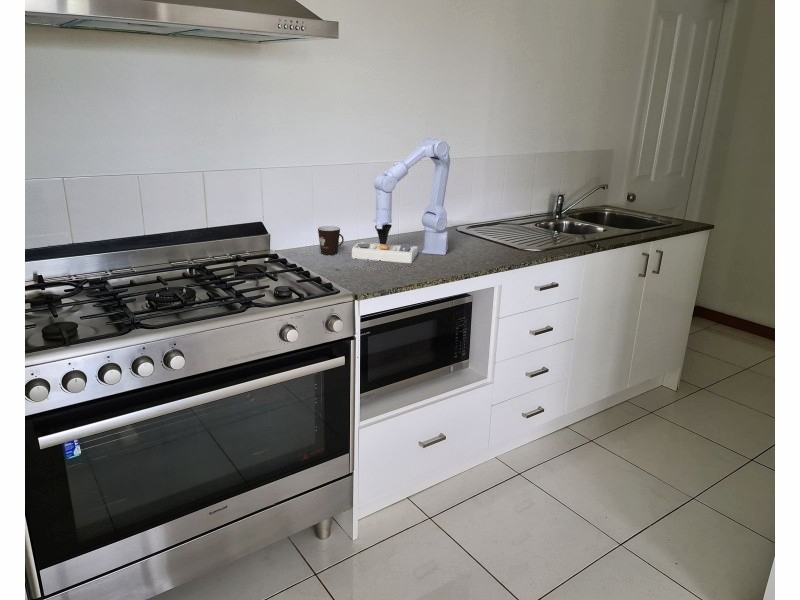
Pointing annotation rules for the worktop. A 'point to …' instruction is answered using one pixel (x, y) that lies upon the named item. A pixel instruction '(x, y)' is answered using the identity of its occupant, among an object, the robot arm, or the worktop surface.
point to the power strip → (384, 253)
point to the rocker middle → (384, 247)
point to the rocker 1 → (363, 245)
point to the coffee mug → (329, 239)
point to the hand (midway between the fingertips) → (383, 243)
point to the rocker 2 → (404, 247)
